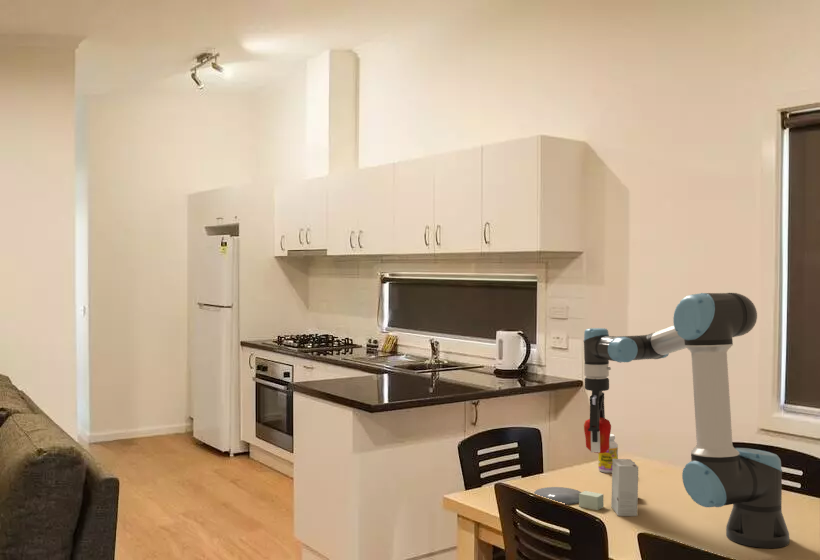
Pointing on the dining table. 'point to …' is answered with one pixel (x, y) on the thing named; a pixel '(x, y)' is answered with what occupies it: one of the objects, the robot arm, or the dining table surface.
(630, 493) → the skincare box
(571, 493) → the plate
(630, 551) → the dining table surface
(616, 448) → the supplement bottle
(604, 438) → the red bell pepper
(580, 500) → the sage block
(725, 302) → the robot arm
